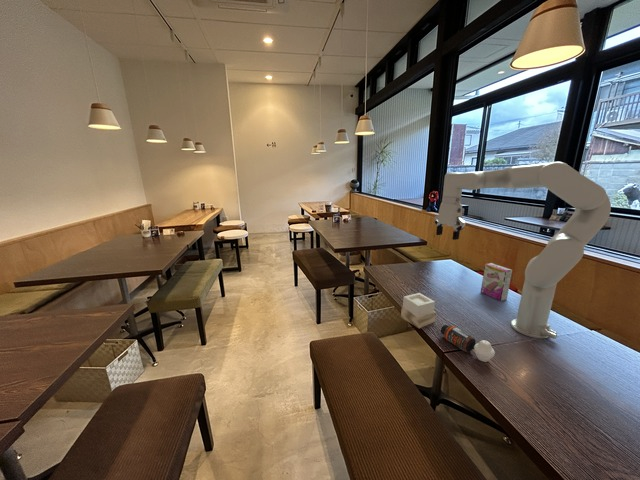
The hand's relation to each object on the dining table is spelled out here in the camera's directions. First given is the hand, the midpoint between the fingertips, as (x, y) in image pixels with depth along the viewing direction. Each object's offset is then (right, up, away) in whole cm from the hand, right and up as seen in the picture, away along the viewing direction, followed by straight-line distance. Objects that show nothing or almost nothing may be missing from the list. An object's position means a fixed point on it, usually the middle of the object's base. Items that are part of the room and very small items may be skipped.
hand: (446, 237), depth 121 cm
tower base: (-17, -37, -7) cm, 41 cm away
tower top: (-17, -32, -9) cm, 37 cm away
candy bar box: (+31, -31, +13) cm, 45 cm away
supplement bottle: (-6, -39, -30) cm, 49 cm away
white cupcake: (-3, -43, -32) cm, 53 cm away
